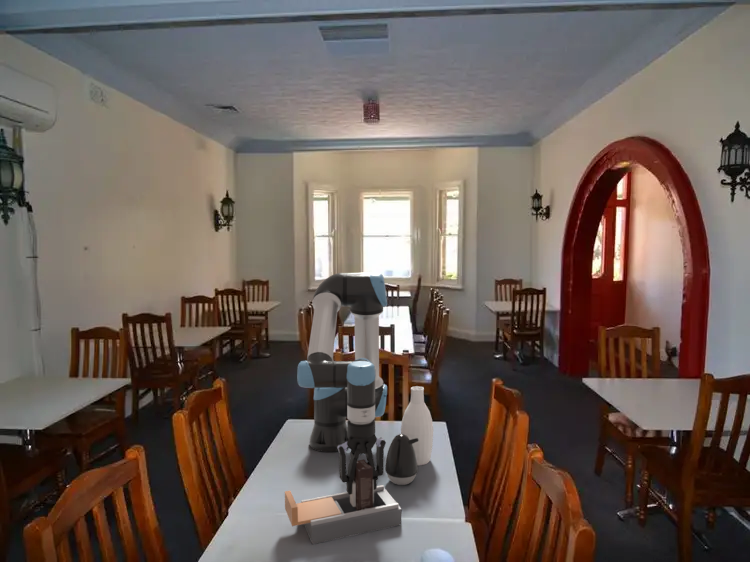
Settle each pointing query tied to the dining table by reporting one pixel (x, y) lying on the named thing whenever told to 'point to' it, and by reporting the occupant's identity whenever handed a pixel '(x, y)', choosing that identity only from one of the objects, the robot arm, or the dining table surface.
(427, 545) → the dining table surface
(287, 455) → the dining table surface
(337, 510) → the shutter
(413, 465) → the pump dispenser
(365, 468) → the box
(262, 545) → the dining table surface
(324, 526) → the grey sliding-lid case
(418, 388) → the bottle
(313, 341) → the robot arm
